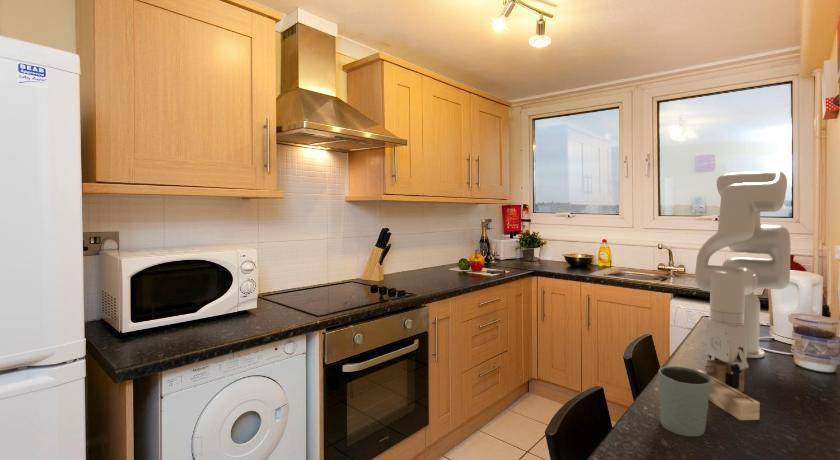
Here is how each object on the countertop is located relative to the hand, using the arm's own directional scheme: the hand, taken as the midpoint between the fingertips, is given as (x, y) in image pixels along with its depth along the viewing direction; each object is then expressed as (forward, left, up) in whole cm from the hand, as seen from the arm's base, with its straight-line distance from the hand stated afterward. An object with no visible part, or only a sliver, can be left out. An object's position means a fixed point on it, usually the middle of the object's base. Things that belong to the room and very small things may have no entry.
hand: (724, 383), depth 117 cm
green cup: (+19, -24, -2) cm, 31 cm away
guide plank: (+7, -7, -1) cm, 10 cm away
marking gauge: (0, 0, -1) cm, 1 cm away
